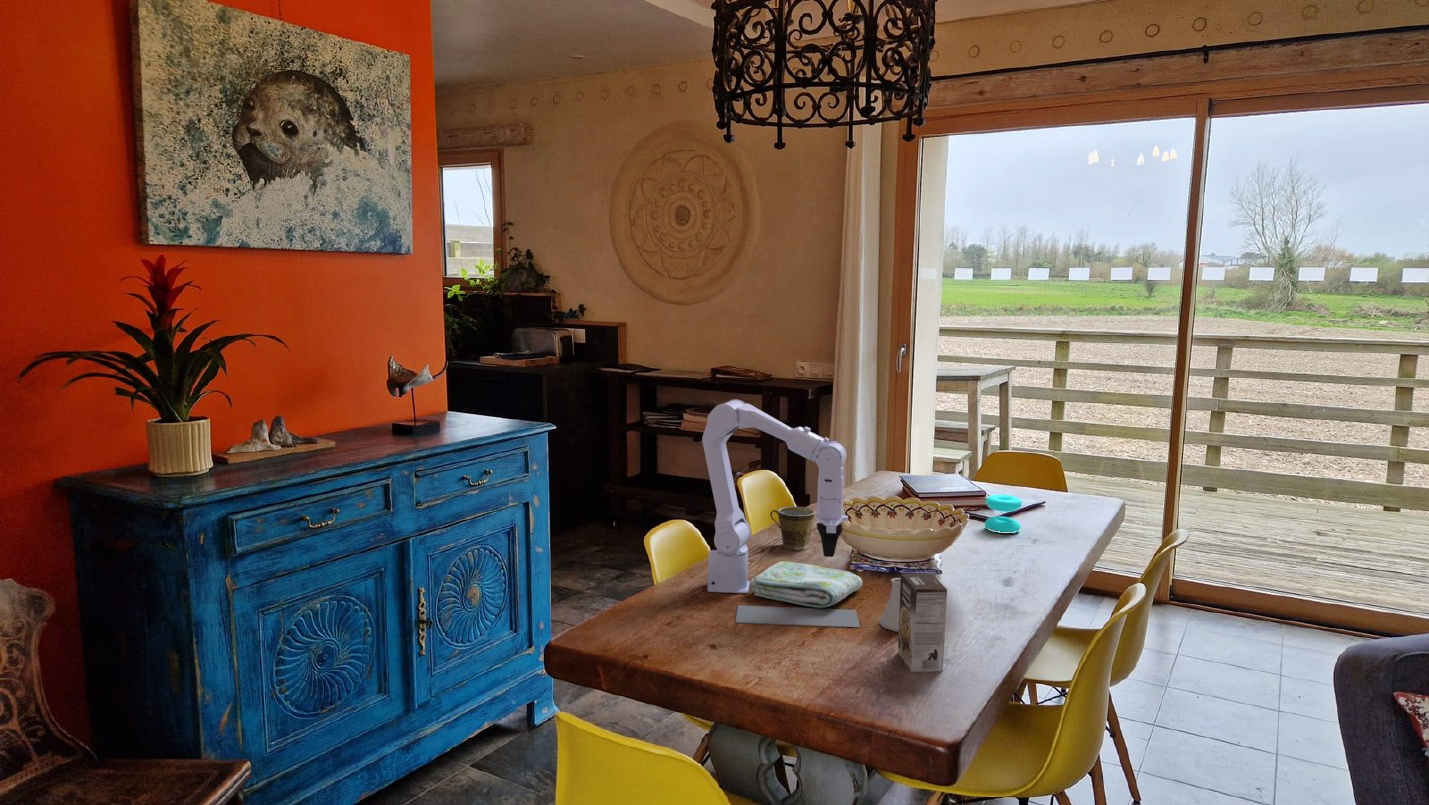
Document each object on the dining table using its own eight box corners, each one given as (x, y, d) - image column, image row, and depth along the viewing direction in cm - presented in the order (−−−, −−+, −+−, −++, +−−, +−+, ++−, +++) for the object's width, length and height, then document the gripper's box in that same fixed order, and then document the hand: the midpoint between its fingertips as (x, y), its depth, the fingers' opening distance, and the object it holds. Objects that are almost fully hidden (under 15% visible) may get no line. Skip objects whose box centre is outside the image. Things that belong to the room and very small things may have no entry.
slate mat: (735, 623, 190) (735, 622, 190) (737, 606, 200) (737, 605, 200) (859, 628, 188) (859, 627, 188) (856, 610, 198) (856, 610, 198)
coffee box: (896, 652, 176) (899, 572, 174) (928, 652, 177) (932, 572, 175) (910, 672, 167) (913, 588, 165) (944, 671, 168) (948, 588, 166)
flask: (894, 635, 185) (896, 588, 184) (872, 623, 191) (874, 577, 190) (922, 629, 188) (924, 583, 187) (900, 617, 195) (901, 573, 193)
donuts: (982, 493, 269) (1015, 493, 269) (980, 525, 270) (1013, 526, 270) (991, 501, 259) (1026, 501, 259) (990, 535, 260) (1024, 535, 260)
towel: (781, 575, 222) (782, 555, 221) (863, 590, 211) (864, 569, 211) (746, 596, 206) (747, 574, 206) (833, 613, 196) (834, 591, 195)
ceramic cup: (820, 545, 248) (821, 510, 246) (803, 554, 239) (804, 517, 238) (778, 538, 254) (779, 503, 253) (761, 546, 246) (761, 510, 245)
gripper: (850, 505, 194) (848, 566, 196) (846, 490, 208) (844, 547, 210) (817, 504, 195) (816, 565, 196) (815, 489, 209) (814, 546, 211)
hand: (828, 555), depth 203 cm, fingers closed
